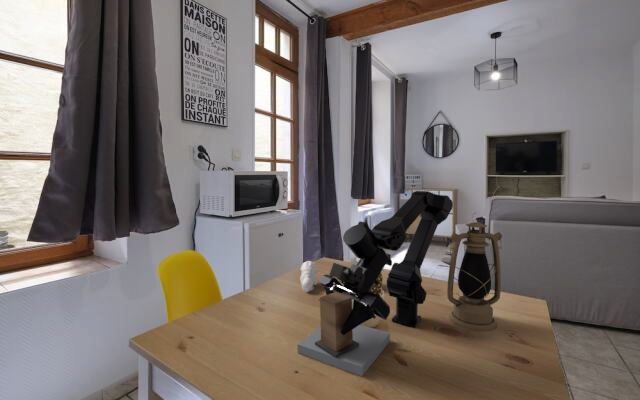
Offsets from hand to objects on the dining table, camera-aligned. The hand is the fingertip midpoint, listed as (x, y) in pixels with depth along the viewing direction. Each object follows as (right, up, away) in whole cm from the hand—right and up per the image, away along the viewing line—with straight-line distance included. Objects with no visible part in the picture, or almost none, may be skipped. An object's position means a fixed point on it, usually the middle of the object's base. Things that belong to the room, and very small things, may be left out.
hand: (331, 327), depth 70 cm
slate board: (+3, -6, +5) cm, 9 cm away
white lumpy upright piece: (-7, -3, +43) cm, 44 cm away
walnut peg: (+1, -7, +2) cm, 7 cm away
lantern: (+40, -5, +18) cm, 44 cm away
